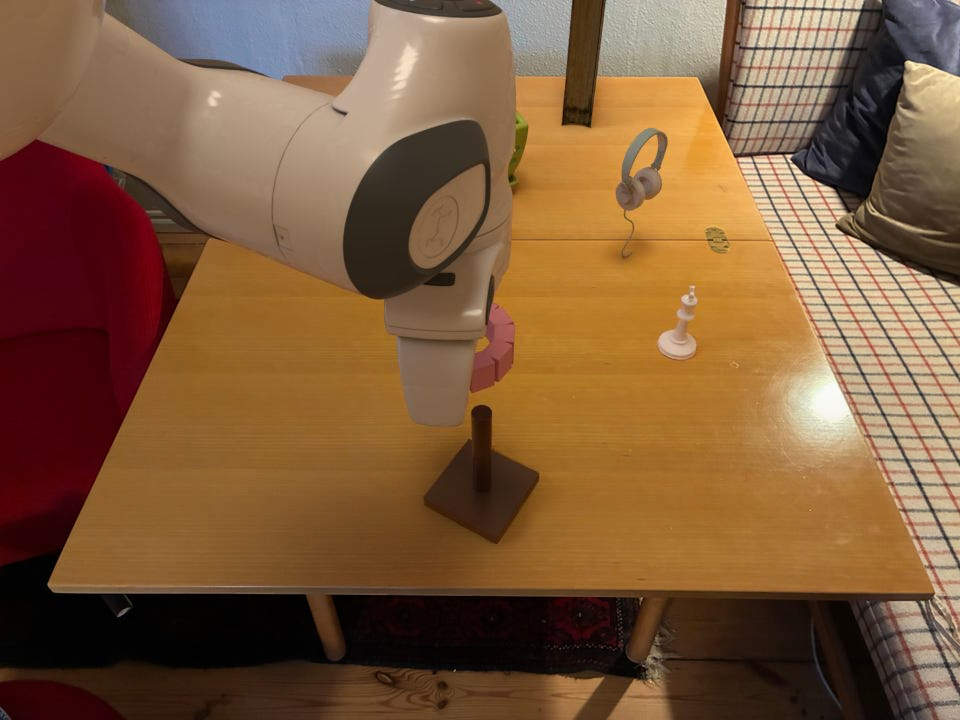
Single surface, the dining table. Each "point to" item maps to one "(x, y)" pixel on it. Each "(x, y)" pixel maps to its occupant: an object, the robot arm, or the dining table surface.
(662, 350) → the chess piece
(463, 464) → the stand
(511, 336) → the ring
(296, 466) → the dining table surface
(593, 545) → the dining table surface
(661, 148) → the headphones
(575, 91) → the book
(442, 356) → the robot arm
